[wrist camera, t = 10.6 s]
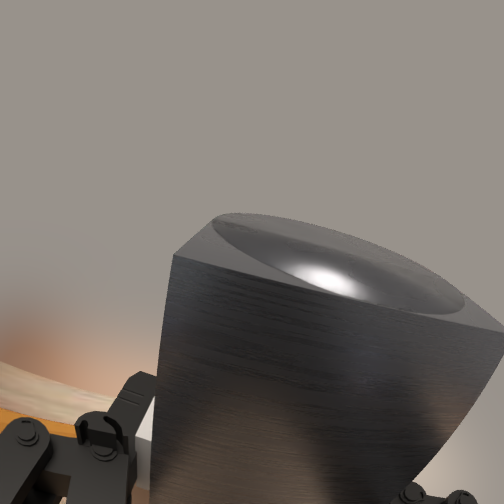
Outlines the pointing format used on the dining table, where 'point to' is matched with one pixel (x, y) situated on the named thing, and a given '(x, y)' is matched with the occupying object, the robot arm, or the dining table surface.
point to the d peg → (308, 367)
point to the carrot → (4, 417)
